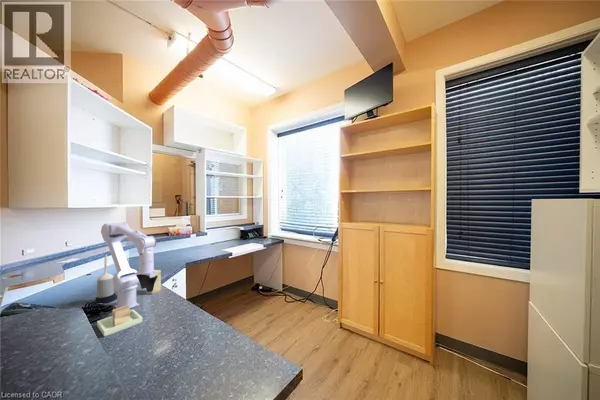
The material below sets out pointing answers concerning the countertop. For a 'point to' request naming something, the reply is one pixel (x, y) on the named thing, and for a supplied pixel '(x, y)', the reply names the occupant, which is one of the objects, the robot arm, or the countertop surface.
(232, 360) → the countertop surface
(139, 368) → the countertop surface
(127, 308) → the block
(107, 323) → the tray
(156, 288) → the light wooden block
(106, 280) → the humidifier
